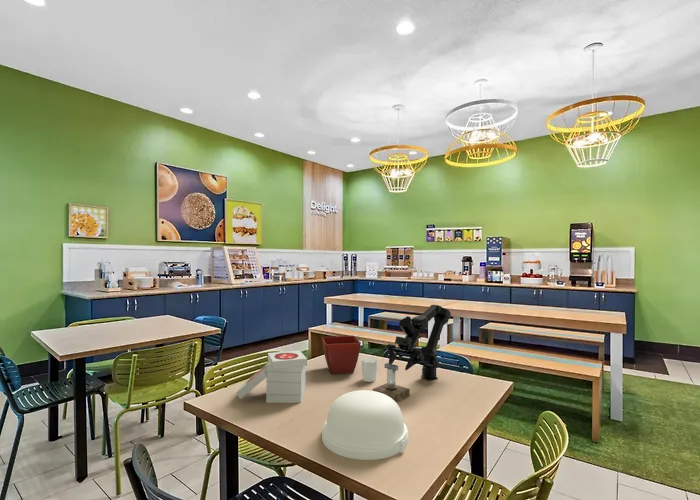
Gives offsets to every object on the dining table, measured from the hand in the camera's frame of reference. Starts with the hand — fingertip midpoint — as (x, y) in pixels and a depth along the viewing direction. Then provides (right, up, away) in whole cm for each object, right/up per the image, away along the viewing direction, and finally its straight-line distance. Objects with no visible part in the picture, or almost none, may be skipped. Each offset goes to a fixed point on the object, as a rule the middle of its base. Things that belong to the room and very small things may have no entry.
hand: (397, 367), depth 167 cm
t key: (-3, -11, -4) cm, 12 cm away
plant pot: (-27, -12, +33) cm, 45 cm away
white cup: (-12, -12, +17) cm, 24 cm away
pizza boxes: (-56, -11, -6) cm, 57 cm away
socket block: (-3, -11, -4) cm, 12 cm away
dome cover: (-17, -11, -41) cm, 46 cm away
